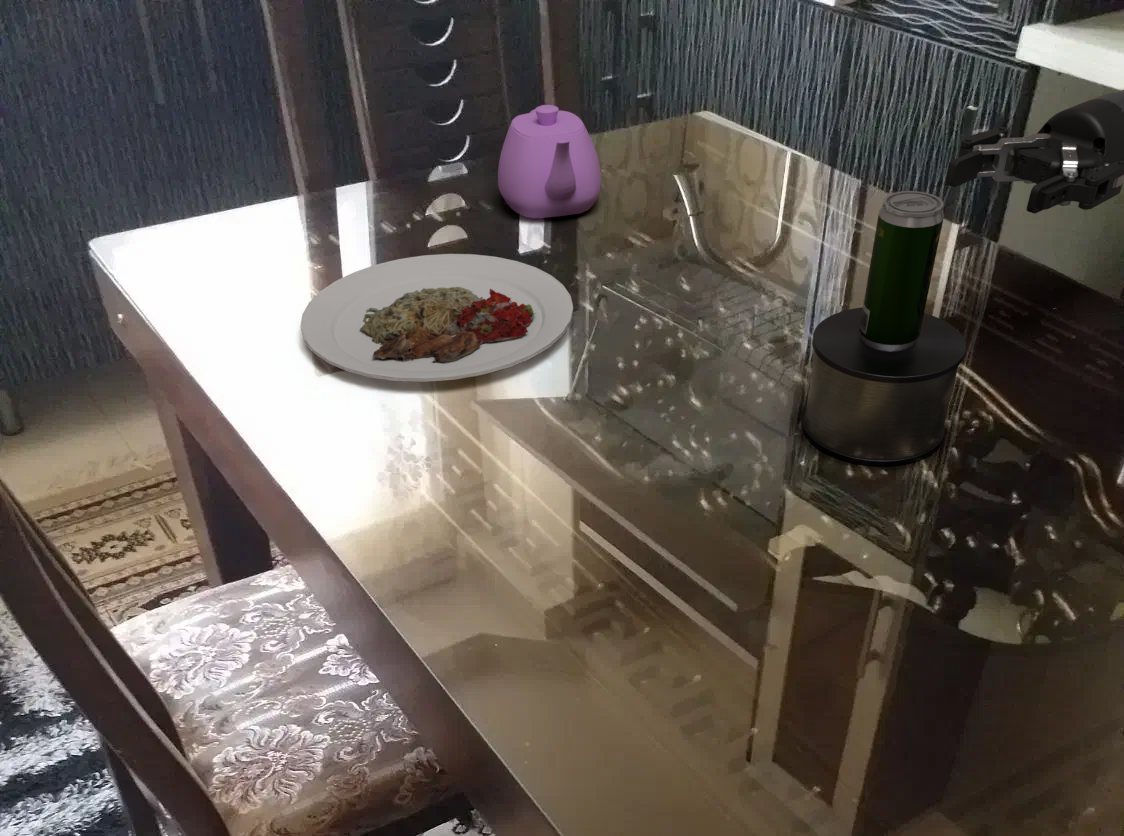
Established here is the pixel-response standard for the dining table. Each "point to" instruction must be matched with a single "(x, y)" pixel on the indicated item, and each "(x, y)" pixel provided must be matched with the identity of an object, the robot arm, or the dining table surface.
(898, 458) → the steel bin
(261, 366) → the dining table surface
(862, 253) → the dining table surface
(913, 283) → the beer can
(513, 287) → the plated food
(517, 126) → the teapot
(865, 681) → the dining table surface
